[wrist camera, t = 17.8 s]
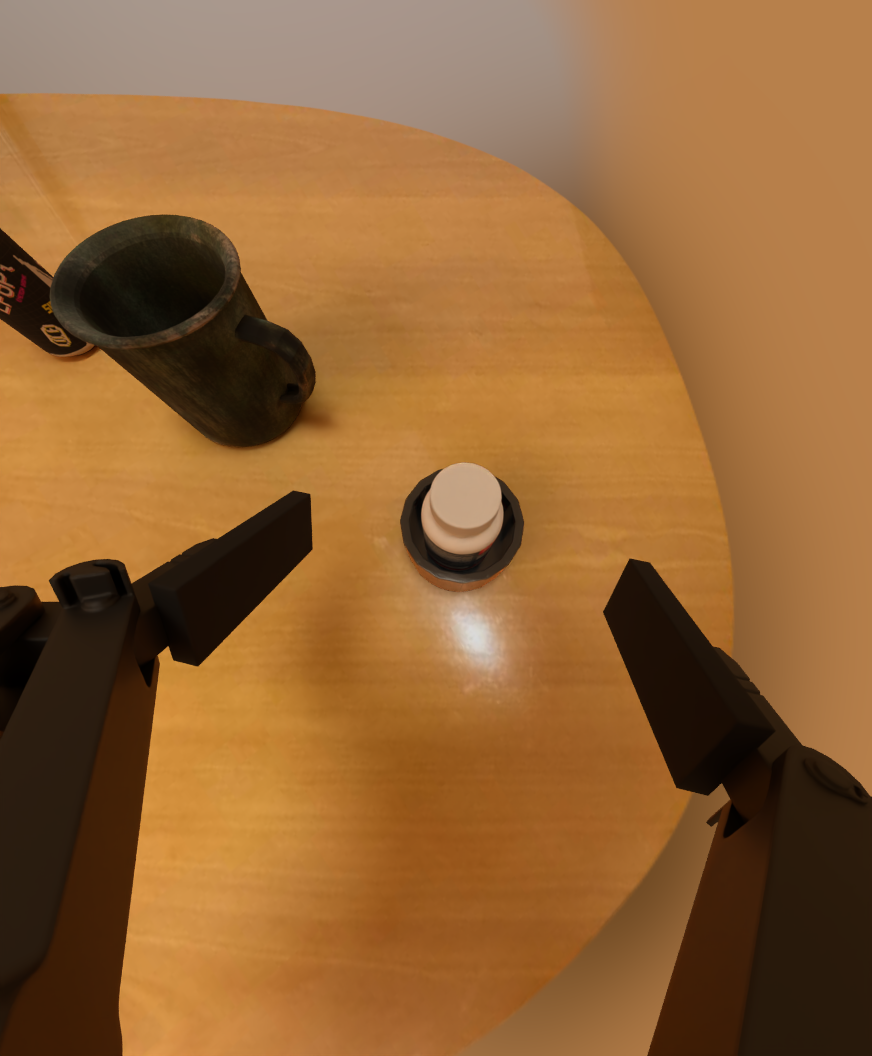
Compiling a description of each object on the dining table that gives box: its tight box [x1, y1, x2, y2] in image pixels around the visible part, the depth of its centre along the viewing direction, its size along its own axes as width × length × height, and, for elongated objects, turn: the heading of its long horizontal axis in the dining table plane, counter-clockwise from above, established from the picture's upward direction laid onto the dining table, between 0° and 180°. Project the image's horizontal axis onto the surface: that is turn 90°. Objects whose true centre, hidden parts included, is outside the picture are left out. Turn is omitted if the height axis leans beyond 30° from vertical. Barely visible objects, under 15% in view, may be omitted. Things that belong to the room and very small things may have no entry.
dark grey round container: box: [400, 469, 524, 592], centre depth 25 cm, size 8×8×5 cm
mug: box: [50, 215, 316, 447], centre depth 26 cm, size 11×15×12 cm
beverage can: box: [0, 229, 95, 357], centre depth 28 cm, size 6×6×12 cm
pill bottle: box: [421, 463, 503, 571], centre depth 22 cm, size 5×5×9 cm
